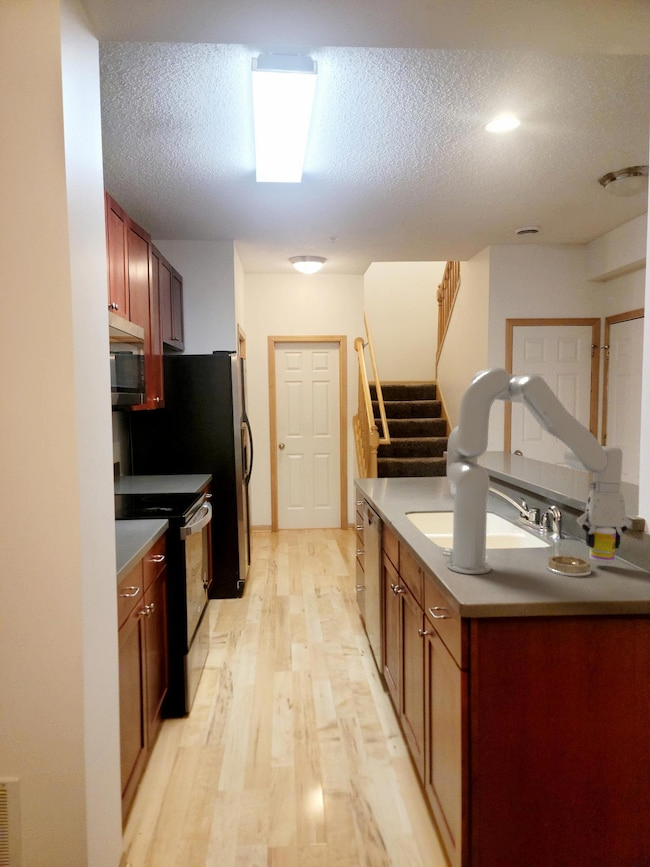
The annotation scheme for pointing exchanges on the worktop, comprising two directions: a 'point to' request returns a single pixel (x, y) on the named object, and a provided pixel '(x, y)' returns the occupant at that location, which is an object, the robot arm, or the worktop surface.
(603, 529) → the supplement bottle
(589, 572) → the flange plate
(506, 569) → the worktop surface
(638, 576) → the worktop surface
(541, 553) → the worktop surface
